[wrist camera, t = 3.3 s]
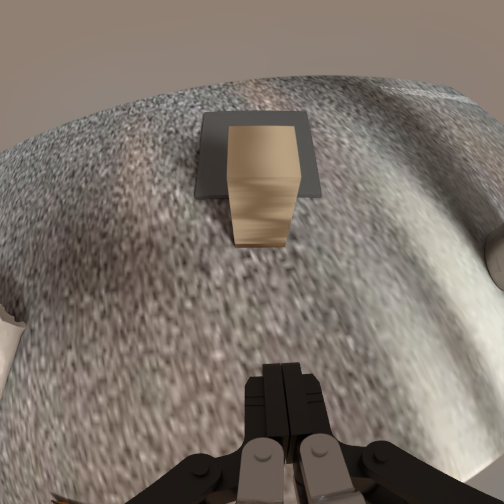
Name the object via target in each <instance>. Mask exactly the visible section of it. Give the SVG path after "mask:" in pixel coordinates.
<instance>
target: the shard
mask: <svg viewBox="0 0 504 504" xmlns="http://www.w3.org/2000/svg"><path fill="white" fill-rule="evenodd" d="M51 501H52V502H53V503H54V504H69V503H65V502H61V501H58V502H57V501H54V500H51Z"/></svg>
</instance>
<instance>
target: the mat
mask: <svg viewBox="0 0 504 504" xmlns="http://www.w3.org/2000/svg"><path fill="white" fill-rule="evenodd" d="M229 126H294V128H295V135H296V141H297V148H298V155H299V163H300V170H301V181H300V185H299V190H298V194H297V197H313V198H321V195H322V193H321V187H320V181H319V175H318V169H317V163H316V157H315V152H314V146H313V141H312V136H311V131H310V126H309V121H308V116H307V112H301V111H221V112H205V114H204V121H203V129H202V136H201V145H200V153H199V162H198V171H197V180H196V190H195V198H196V199H207V198H229V192H228V184H227V158H228V135H229Z"/></svg>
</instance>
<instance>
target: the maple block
mask: <svg viewBox="0 0 504 504" xmlns="http://www.w3.org/2000/svg"><path fill="white" fill-rule="evenodd" d="M300 181H301V170H300V163H299V155H298V148H297V141H296V135H295V128H294V126H229V135H228V158H227V184H228V192H229V200H230V208H231V216H232V224H233V232H234V240H235V248H262V247H285V244H286V240H287V236H288V231H289V227H290V223H291V219H292V215H293V211H294V207H295V202H296V198H297V194H298V190H299V185H300Z"/></svg>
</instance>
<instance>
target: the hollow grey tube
mask: <svg viewBox="0 0 504 504" xmlns="http://www.w3.org/2000/svg"><path fill="white" fill-rule="evenodd" d="M17 326H18V327H17ZM25 328H26V324H25V323H24V321H22V322H15V321H14V316H10V315H9V314H8V313H6V312H5V308H4V307H3V305H2V304H1V303H0V402H1V399H2V395H3V391H4V388H5V384H6V380H7V377H8V374H9V371H10V368H11V365H12V363H13V360H14V356H15V353H16V350H17V347H18V344H19V341H20V337H21V334H22V332H23V331H24V329H25Z"/></svg>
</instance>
